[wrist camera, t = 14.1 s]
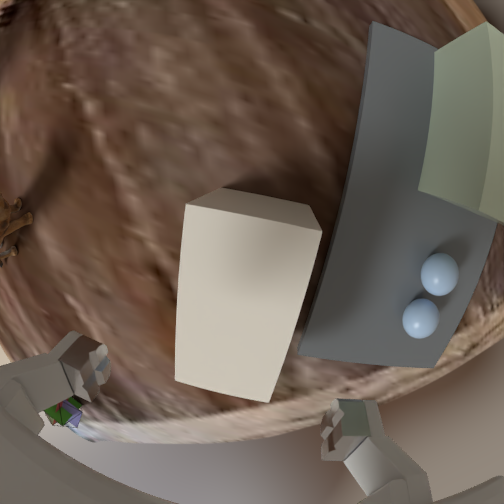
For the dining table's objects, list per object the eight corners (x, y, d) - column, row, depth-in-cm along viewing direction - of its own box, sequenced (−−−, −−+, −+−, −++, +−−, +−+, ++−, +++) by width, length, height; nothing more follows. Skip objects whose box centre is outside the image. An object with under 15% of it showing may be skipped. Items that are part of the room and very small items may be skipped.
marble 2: (418, 246, 17) (442, 251, 14) (446, 254, 17) (470, 260, 14) (409, 287, 17) (431, 297, 14) (437, 292, 17) (460, 302, 14)
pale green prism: (434, 52, 12) (486, 21, 5) (491, 86, 12) (547, 75, 5) (417, 190, 16) (478, 210, 9) (475, 213, 15) (535, 240, 9)
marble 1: (406, 288, 18) (423, 311, 15) (434, 293, 18) (452, 314, 15) (391, 321, 19) (404, 346, 16) (419, 324, 19) (433, 346, 16)
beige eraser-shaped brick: (221, 187, 18) (186, 203, 12) (309, 205, 18) (322, 231, 11) (203, 322, 22) (175, 380, 15) (274, 338, 22) (268, 402, 15)
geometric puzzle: (46, 371, 26) (26, 412, 22) (84, 401, 27) (63, 443, 22) (62, 374, 32) (43, 410, 28) (95, 399, 33) (76, 435, 28)
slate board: (369, 26, 13) (372, 21, 12) (506, 99, 12) (512, 98, 11) (297, 347, 22) (297, 354, 21) (429, 361, 21) (433, 368, 20)
